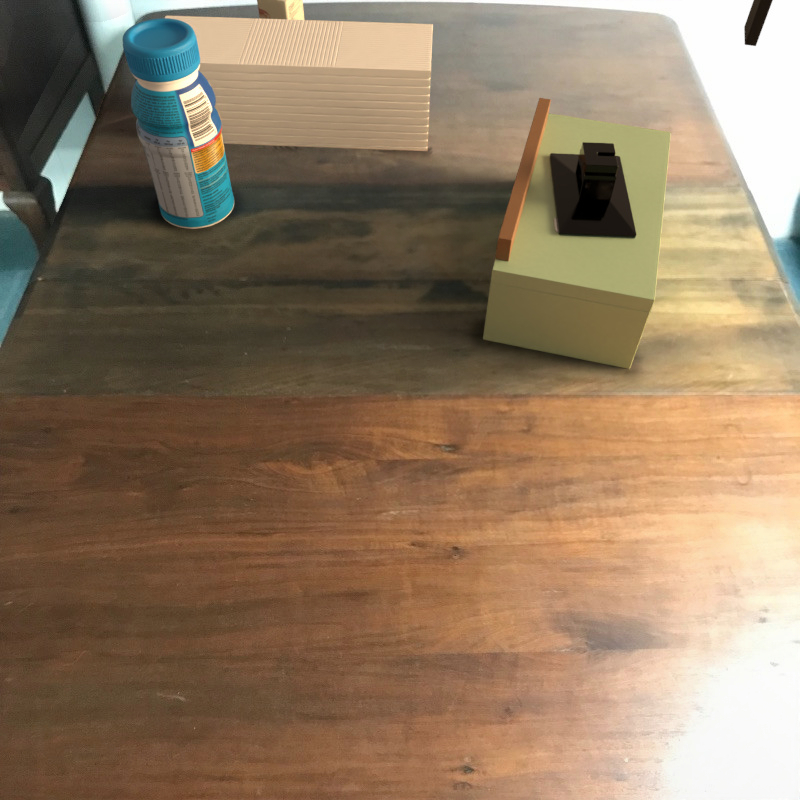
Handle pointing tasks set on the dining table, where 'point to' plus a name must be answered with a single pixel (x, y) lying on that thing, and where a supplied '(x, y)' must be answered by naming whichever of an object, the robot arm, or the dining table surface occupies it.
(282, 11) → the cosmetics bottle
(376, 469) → the dining table surface
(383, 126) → the beige ridged block
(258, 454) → the dining table surface
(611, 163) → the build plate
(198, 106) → the beverage bottle
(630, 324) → the olive green box
